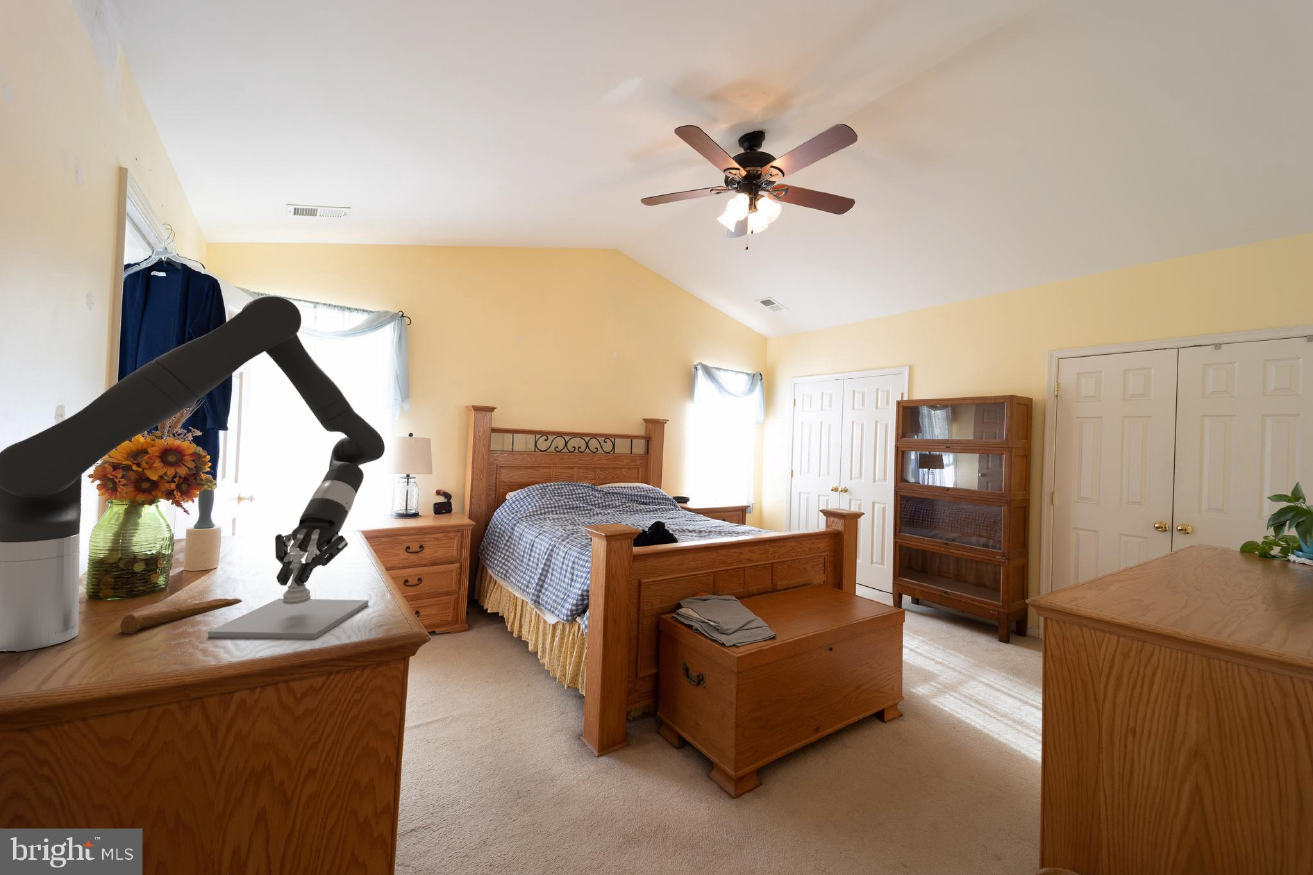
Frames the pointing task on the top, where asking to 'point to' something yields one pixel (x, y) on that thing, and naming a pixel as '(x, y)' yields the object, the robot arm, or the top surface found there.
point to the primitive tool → (171, 614)
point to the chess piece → (295, 592)
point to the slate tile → (290, 619)
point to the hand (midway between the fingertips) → (289, 583)
